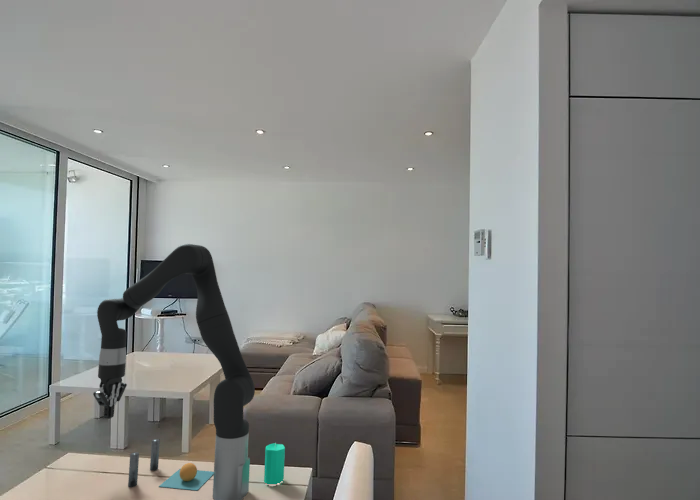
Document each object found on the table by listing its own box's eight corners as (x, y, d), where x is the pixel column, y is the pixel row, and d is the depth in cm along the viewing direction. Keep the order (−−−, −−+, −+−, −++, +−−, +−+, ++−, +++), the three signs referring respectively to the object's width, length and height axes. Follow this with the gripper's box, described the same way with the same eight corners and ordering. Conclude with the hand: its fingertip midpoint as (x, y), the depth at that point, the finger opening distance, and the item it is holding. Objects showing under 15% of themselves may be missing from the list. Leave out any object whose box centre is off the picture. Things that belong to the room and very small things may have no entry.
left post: (138, 483, 128) (140, 452, 128) (133, 487, 125) (135, 455, 126) (131, 482, 128) (133, 451, 129) (126, 486, 126) (128, 455, 126)
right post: (159, 467, 138) (161, 439, 139) (155, 471, 136) (157, 442, 137) (152, 467, 139) (154, 438, 139) (148, 470, 136) (150, 441, 137)
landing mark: (215, 472, 136) (215, 471, 136) (197, 490, 124) (197, 490, 124) (180, 469, 138) (180, 468, 138) (158, 486, 126) (158, 486, 126)
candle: (279, 487, 128) (281, 446, 129) (260, 485, 129) (262, 444, 130) (286, 478, 134) (288, 439, 134) (268, 476, 135) (270, 437, 136)
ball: (203, 469, 133) (193, 456, 133) (195, 477, 128) (185, 463, 128) (191, 480, 133) (181, 467, 134) (183, 488, 128) (173, 474, 129)
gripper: (109, 366, 129) (105, 425, 128) (136, 358, 142) (133, 412, 141) (86, 365, 130) (82, 423, 129) (115, 357, 143) (112, 410, 142)
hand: (108, 417), depth 135 cm, fingers closed
